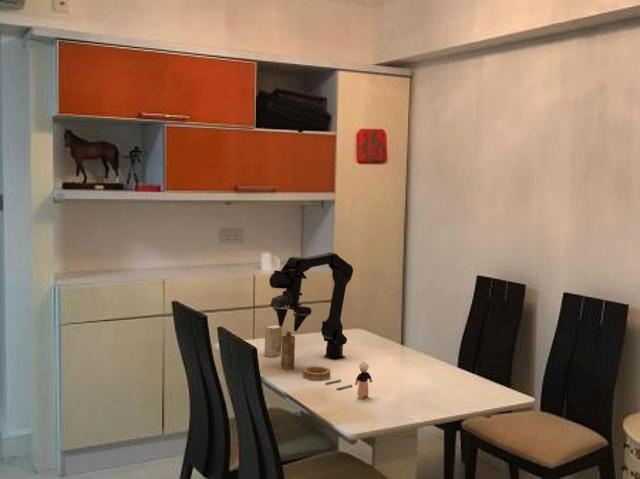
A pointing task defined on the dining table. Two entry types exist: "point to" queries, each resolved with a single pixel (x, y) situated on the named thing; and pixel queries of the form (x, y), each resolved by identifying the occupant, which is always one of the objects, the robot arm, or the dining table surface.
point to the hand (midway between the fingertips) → (287, 328)
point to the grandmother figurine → (363, 381)
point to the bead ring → (316, 373)
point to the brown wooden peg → (288, 352)
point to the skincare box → (273, 341)
